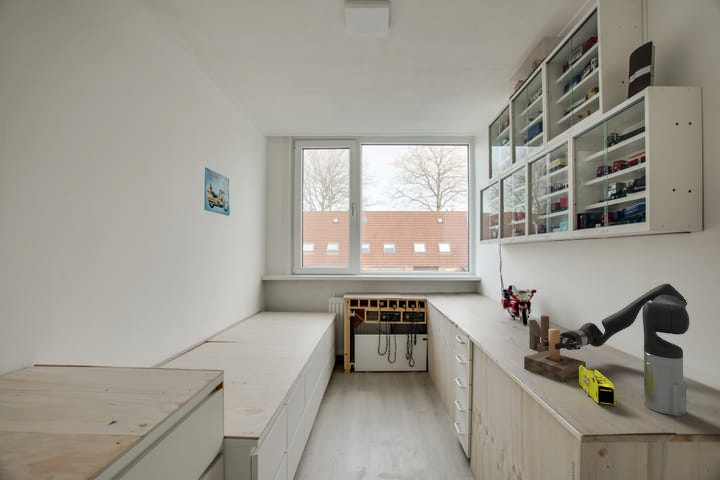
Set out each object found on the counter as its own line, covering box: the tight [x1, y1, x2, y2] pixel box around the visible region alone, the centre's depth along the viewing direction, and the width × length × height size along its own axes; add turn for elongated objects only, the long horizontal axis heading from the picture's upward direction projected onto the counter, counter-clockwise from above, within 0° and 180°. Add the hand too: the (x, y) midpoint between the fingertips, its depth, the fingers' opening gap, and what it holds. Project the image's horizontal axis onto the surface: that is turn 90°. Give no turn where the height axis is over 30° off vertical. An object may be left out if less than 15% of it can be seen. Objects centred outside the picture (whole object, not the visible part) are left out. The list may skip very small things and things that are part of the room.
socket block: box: [523, 351, 587, 383], centre depth 135 cm, size 16×16×5 cm
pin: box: [549, 328, 561, 362], centre depth 136 cm, size 4×4×14 cm
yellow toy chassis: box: [578, 365, 616, 406], centre depth 114 cm, size 16×6×8 cm, turn 165°
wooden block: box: [528, 314, 550, 353], centre depth 162 cm, size 4×11×18 cm, turn 12°
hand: (550, 345), depth 134 cm, fingers closed on pin, 4 cm apart
